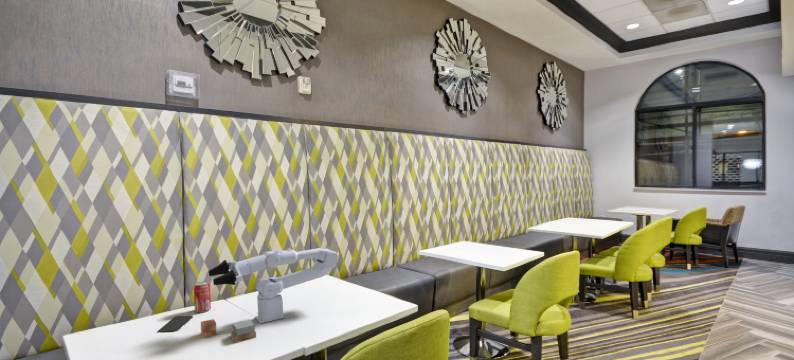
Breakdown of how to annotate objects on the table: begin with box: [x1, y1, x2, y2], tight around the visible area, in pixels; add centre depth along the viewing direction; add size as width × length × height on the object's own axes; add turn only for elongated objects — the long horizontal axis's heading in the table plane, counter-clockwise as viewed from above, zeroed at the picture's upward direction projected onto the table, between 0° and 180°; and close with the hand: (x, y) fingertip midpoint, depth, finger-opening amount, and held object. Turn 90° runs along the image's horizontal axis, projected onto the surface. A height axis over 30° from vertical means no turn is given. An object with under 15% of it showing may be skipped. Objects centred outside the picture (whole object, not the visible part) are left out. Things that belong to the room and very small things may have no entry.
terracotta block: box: [200, 318, 218, 339], centre depth 146 cm, size 4×4×4 cm
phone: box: [157, 315, 194, 333], centre depth 156 cm, size 7×1×15 cm
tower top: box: [232, 319, 256, 336], centre depth 143 cm, size 6×6×2 cm
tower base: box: [230, 329, 257, 343], centre depth 143 cm, size 7×7×2 cm
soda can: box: [193, 281, 212, 314], centre depth 170 cm, size 6×6×12 cm
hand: (211, 277), depth 147 cm, fingers open, 7 cm apart
